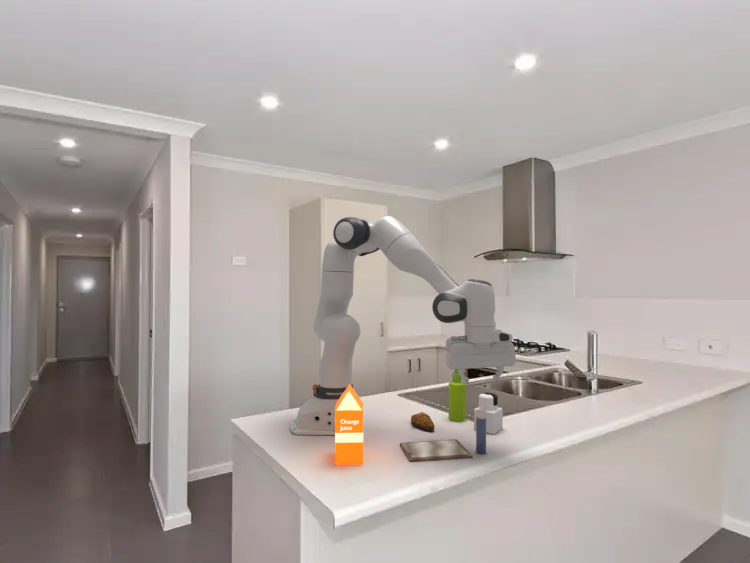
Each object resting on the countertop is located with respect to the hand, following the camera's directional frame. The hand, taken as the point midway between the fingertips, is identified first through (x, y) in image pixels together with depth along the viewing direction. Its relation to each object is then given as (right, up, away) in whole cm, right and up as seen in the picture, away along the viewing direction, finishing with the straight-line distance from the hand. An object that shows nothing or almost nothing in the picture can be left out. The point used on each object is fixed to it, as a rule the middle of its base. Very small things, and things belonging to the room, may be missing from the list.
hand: (481, 382), depth 127 cm
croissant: (-15, -21, +22) cm, 34 cm away
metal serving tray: (-13, -20, 0) cm, 24 cm away
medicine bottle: (+7, -20, +19) cm, 28 cm away
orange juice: (-38, -20, -4) cm, 43 cm away
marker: (0, -20, -1) cm, 20 cm away
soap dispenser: (-1, -20, +30) cm, 36 cm away
